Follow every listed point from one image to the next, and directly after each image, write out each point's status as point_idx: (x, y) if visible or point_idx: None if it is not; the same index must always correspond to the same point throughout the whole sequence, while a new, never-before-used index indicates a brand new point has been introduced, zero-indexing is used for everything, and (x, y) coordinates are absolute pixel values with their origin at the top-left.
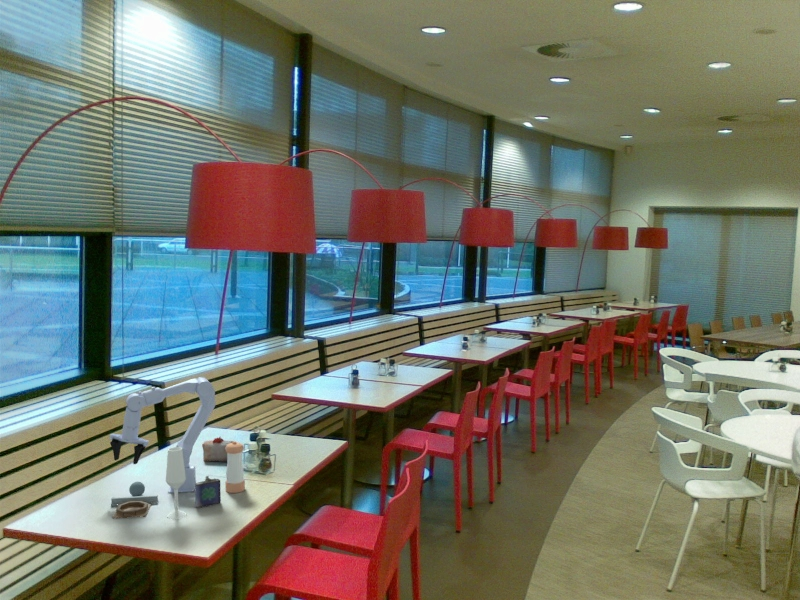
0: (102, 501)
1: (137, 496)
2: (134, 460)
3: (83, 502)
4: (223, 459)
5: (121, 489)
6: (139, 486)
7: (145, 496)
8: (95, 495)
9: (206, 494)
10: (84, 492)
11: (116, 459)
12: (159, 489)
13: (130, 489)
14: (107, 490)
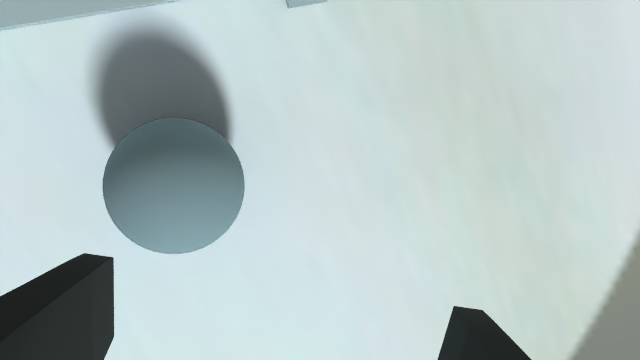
0: (423, 48)
1: (89, 10)
2: (53, 281)
3: (562, 25)
4: None
5: (363, 288)
6: (122, 159)
7: (2, 8)
8: (512, 169)
9: None
10: (602, 221)
11: (451, 331)
12: None
13: (214, 138)
14: (456, 265)
